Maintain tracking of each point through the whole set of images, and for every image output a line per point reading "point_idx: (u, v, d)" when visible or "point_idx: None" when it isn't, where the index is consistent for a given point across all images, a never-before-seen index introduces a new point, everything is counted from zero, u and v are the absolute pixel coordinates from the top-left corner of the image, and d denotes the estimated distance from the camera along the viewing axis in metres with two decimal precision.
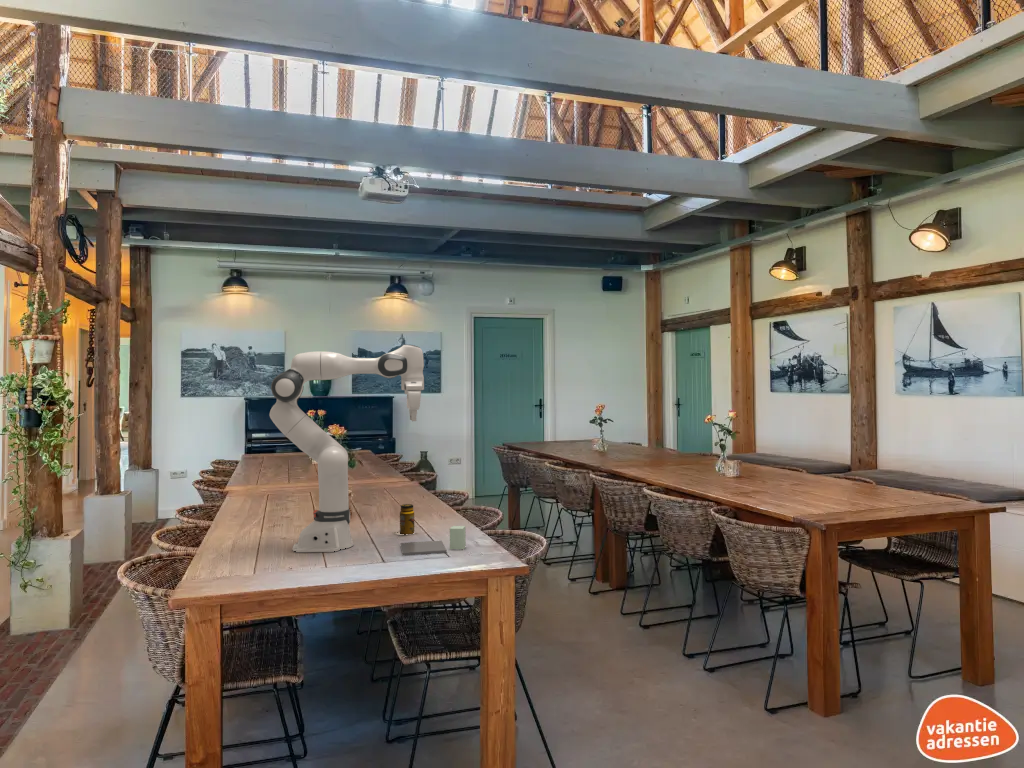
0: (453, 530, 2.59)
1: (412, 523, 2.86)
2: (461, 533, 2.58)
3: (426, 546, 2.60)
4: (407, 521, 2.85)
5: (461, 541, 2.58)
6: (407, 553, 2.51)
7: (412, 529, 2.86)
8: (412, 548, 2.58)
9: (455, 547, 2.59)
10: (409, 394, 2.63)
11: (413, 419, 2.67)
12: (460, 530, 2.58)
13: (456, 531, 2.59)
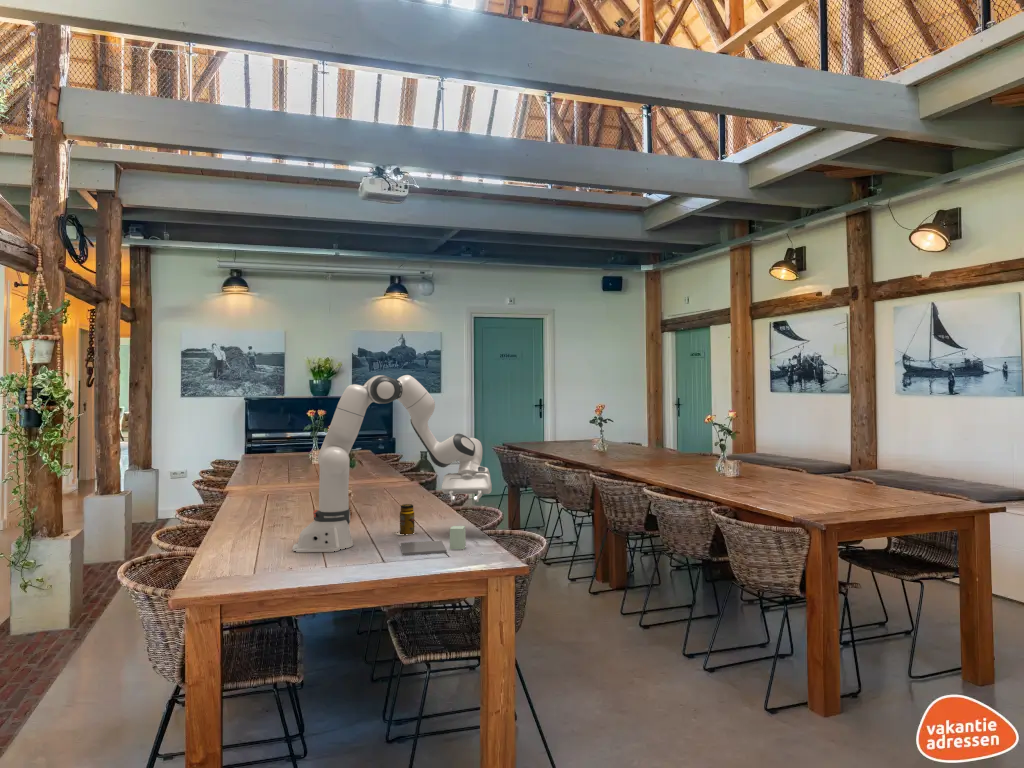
0: (453, 530, 2.59)
1: (412, 523, 2.86)
2: (461, 533, 2.58)
3: (426, 546, 2.60)
4: (407, 521, 2.85)
5: (461, 541, 2.58)
6: (407, 553, 2.51)
7: (412, 529, 2.86)
8: (412, 548, 2.58)
9: (455, 547, 2.59)
10: (489, 476, 2.78)
11: (478, 499, 2.73)
12: (460, 530, 2.58)
13: (456, 531, 2.59)
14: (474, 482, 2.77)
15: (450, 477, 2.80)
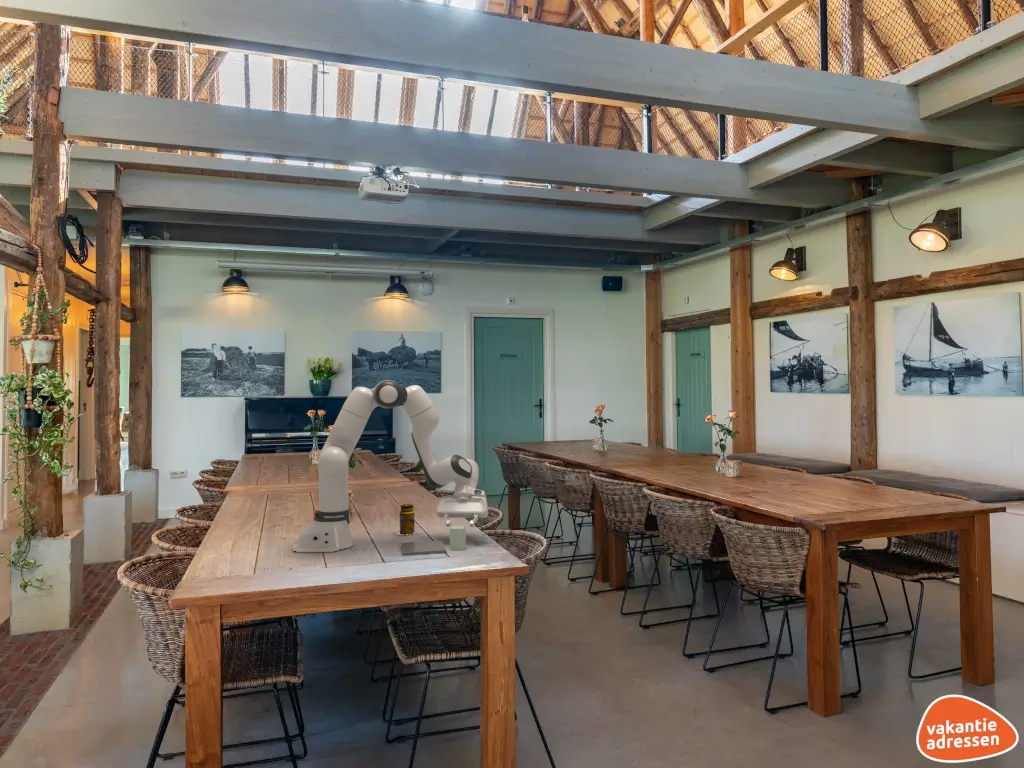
0: (453, 530, 2.59)
1: (412, 523, 2.86)
2: (461, 533, 2.58)
3: (426, 546, 2.60)
4: (407, 521, 2.85)
5: (461, 541, 2.58)
6: (407, 553, 2.51)
7: (412, 529, 2.86)
8: (412, 548, 2.58)
9: (455, 547, 2.59)
10: (486, 500, 2.70)
11: (474, 523, 2.65)
12: (460, 530, 2.58)
13: (456, 531, 2.59)
14: (470, 506, 2.69)
15: (445, 499, 2.72)
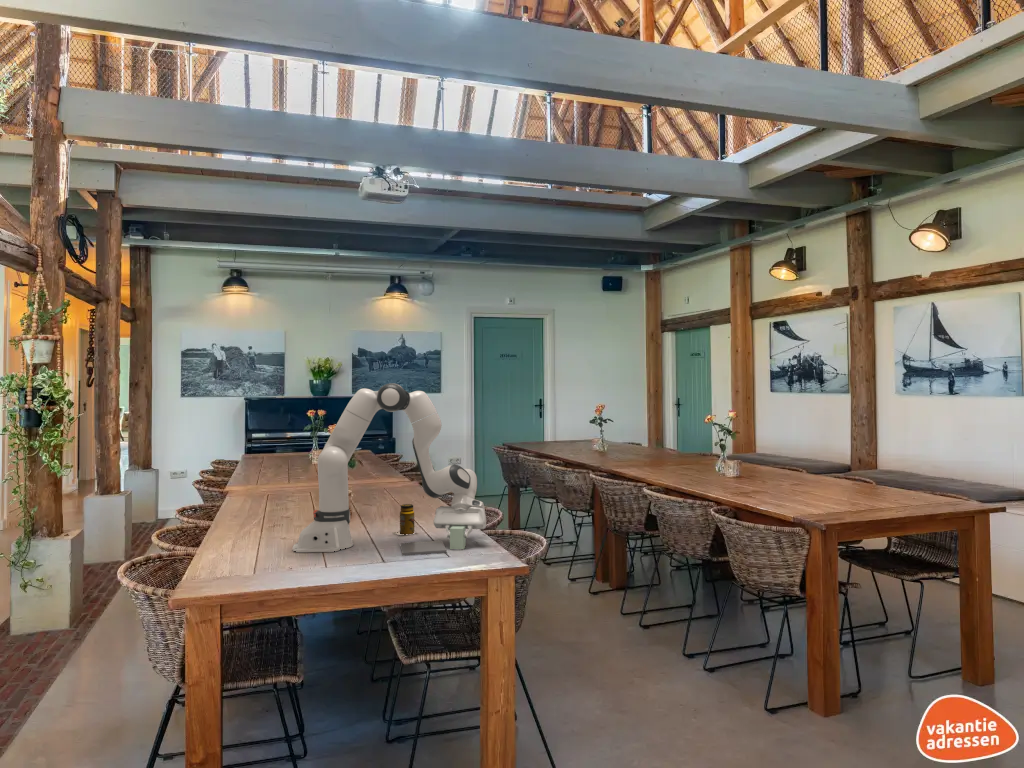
0: (453, 530, 2.59)
1: (412, 523, 2.86)
2: (461, 533, 2.58)
3: (426, 546, 2.60)
4: (407, 521, 2.85)
5: (461, 541, 2.58)
6: (407, 553, 2.51)
7: (412, 529, 2.86)
8: (412, 548, 2.58)
9: (455, 547, 2.59)
10: (484, 511, 2.65)
11: (467, 535, 2.60)
12: (460, 530, 2.58)
13: (456, 531, 2.59)
14: (468, 517, 2.64)
15: (442, 510, 2.68)
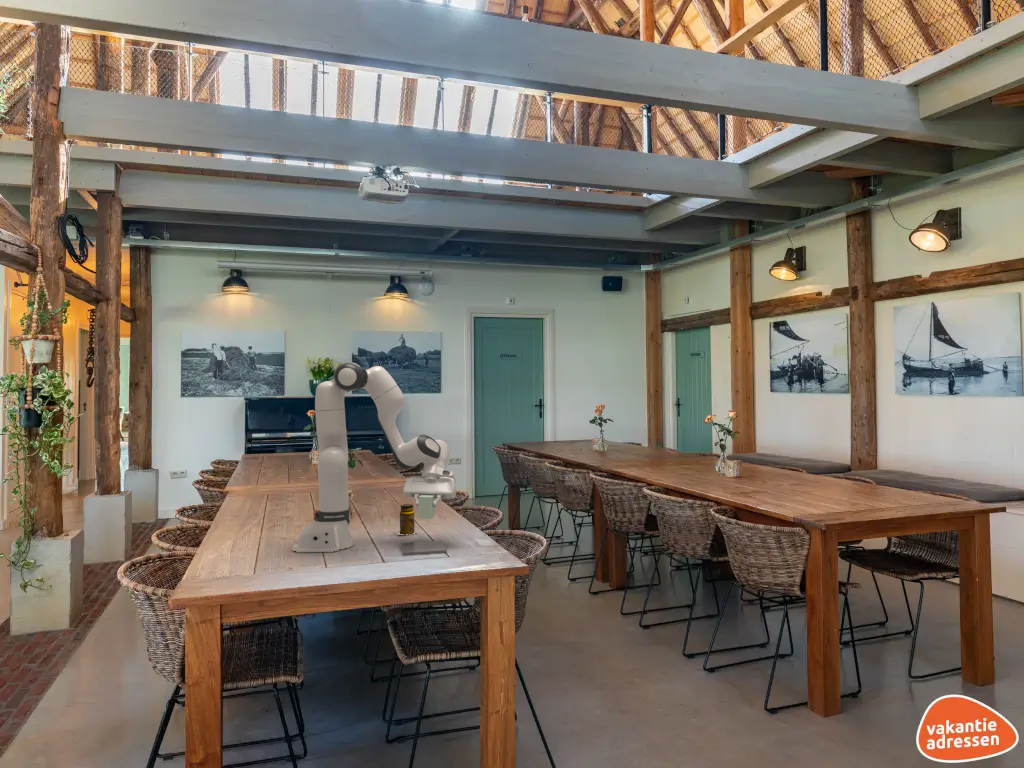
0: (422, 498, 2.58)
1: (412, 523, 2.86)
2: (430, 501, 2.58)
3: (426, 546, 2.60)
4: (407, 521, 2.85)
5: (429, 509, 2.58)
6: (407, 553, 2.51)
7: (412, 529, 2.86)
8: (412, 548, 2.58)
9: (423, 515, 2.58)
10: (454, 481, 2.65)
11: (436, 504, 2.60)
12: (429, 498, 2.58)
13: (425, 499, 2.58)
14: (438, 486, 2.63)
15: (412, 479, 2.67)
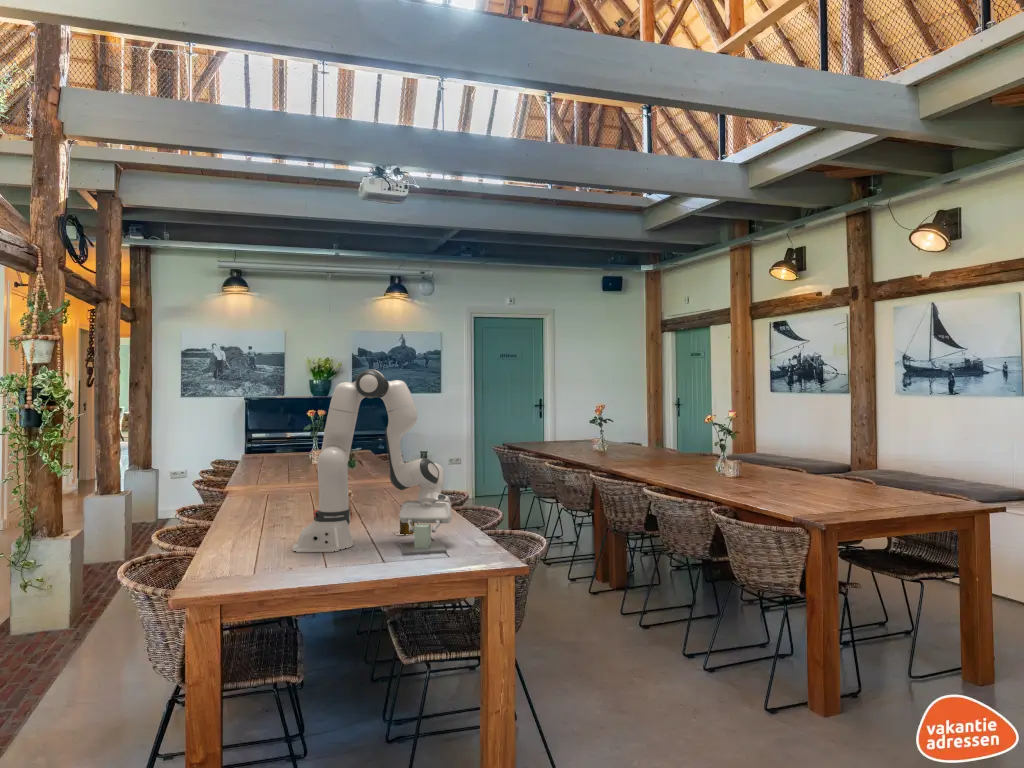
0: (418, 528, 2.58)
1: None
2: (426, 531, 2.58)
3: None
4: None
5: (426, 539, 2.58)
6: (407, 553, 2.51)
7: None
8: (412, 548, 2.58)
9: (420, 545, 2.58)
10: (449, 505, 2.65)
11: (435, 529, 2.59)
12: (425, 528, 2.58)
13: (421, 529, 2.58)
14: (433, 511, 2.63)
15: (408, 504, 2.67)
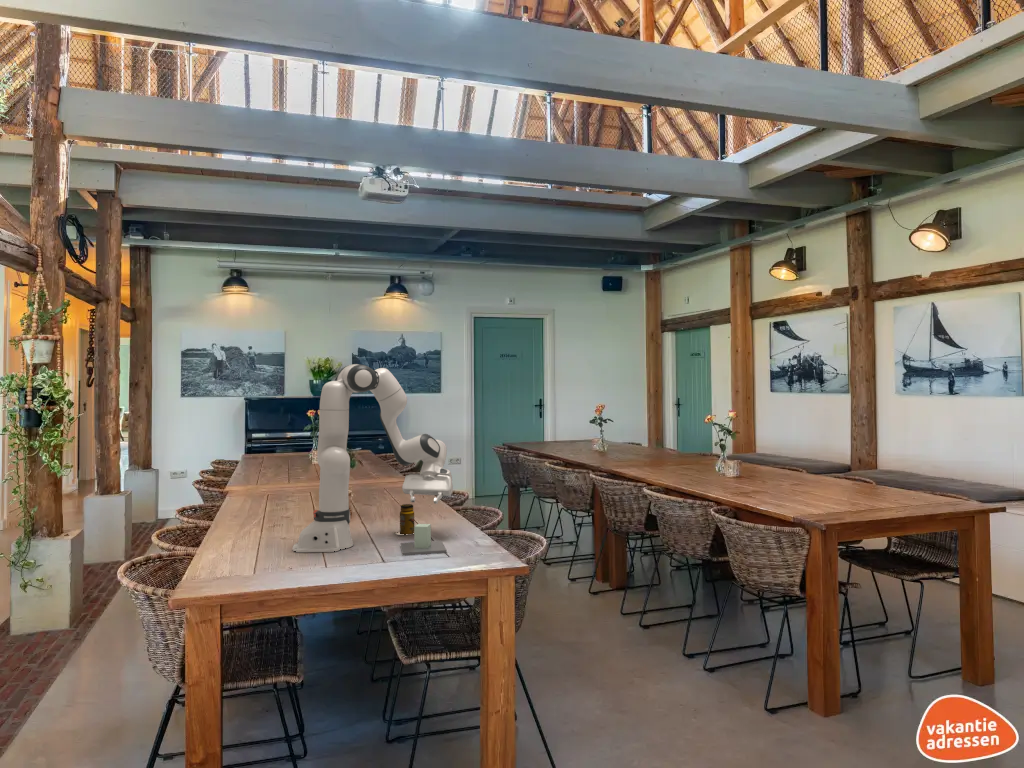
0: (418, 528, 2.58)
1: (412, 523, 2.86)
2: (426, 531, 2.58)
3: None
4: (407, 521, 2.85)
5: (426, 539, 2.58)
6: (407, 553, 2.51)
7: (412, 529, 2.86)
8: (412, 548, 2.58)
9: (420, 545, 2.58)
10: (451, 479, 2.78)
11: (437, 501, 2.72)
12: (425, 528, 2.58)
13: (421, 529, 2.58)
14: (435, 484, 2.77)
15: (411, 477, 2.80)
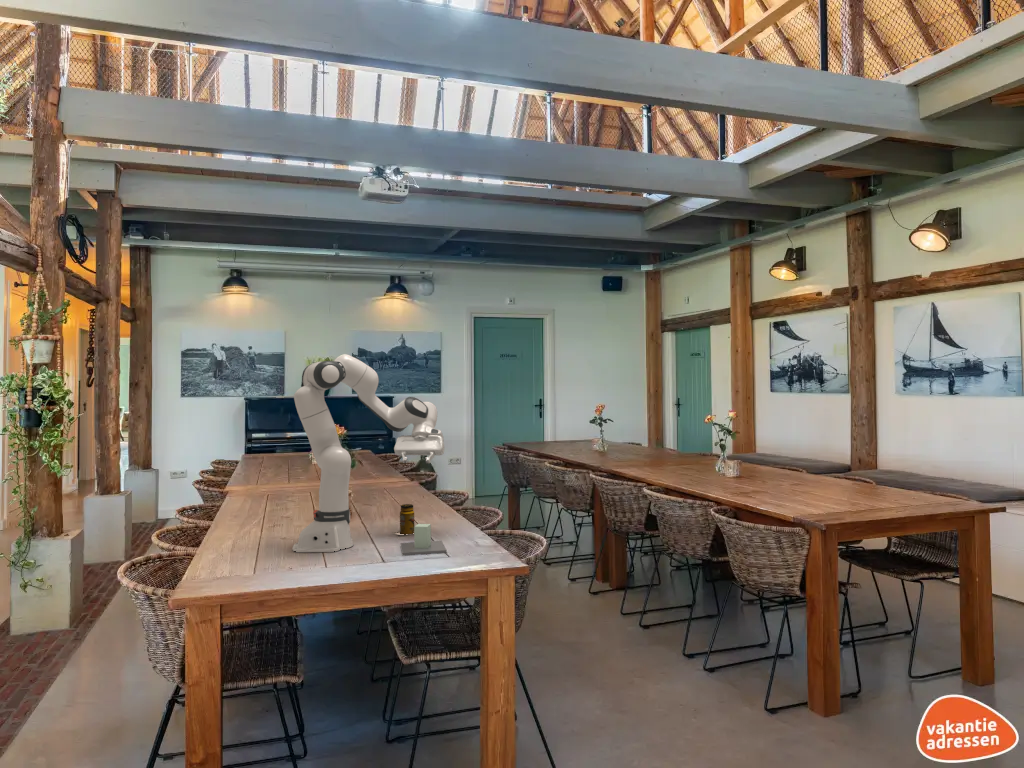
0: (418, 528, 2.58)
1: (412, 523, 2.86)
2: (426, 531, 2.58)
3: None
4: (407, 521, 2.85)
5: (426, 539, 2.58)
6: (407, 553, 2.51)
7: (412, 529, 2.86)
8: (412, 548, 2.58)
9: (420, 545, 2.58)
10: (442, 438, 2.79)
11: (429, 460, 2.74)
12: (425, 528, 2.58)
13: (421, 529, 2.58)
14: (427, 444, 2.78)
15: (403, 438, 2.81)
